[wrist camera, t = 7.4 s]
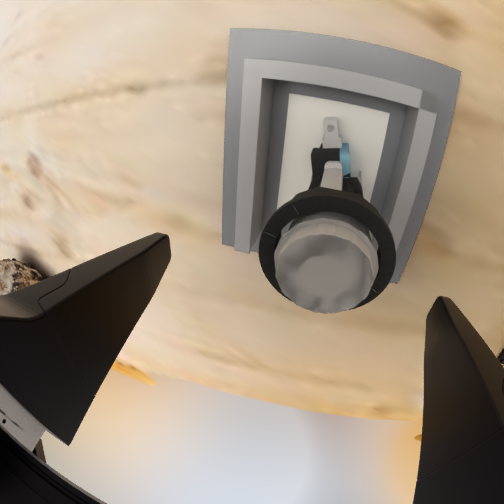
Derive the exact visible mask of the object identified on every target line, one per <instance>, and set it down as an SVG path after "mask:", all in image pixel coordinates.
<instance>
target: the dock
mask: <svg viewBox="0 0 504 504" xmlns="http://www.w3.org/2000/svg"><path fill="white" fill-rule="evenodd" d="M460 74H461V71H459V70H456V69H454V68H451V67H449V66H446V65H443V64H440V63H437V62H435V61H432V60H429V59H426V58H422V57H419V56H416V55H413V54H409V53H406V52H402V51H399V50H395V49H391V48H388V47H384V46H379V45H375V44H371V43H366V42H361V41H357V40H351V39H346V38H340V37H334V36H328V35H321V34H314V33H305V32H296V31H285V30H271V29H247V28H230V35H229V51H228V69H227V89H226V112H225V138H224V171H223V218H222V244H223V245H228V246H232V247H235V250H236V251H240V252H245V253H250V251H254V252H259V241H260V237H261V234H262V231H263V229H264V227H265V225H266V223H267V222H268V220H269V218H270V217H271V216H272V214H273V213H274V212H275V211H276V210H277V209H278V208H280V207H281V206H282V205H283V204H285V203H286V202H288V201H290V200H292V199H293V197H294V196H295V195H296V194H298V193H301V192H304V191H307V190H308V189H309V186H310V183H311V176H312V165H311V152H312V150H313V148H320V145H321V143H322V138H323V135H324V128H323V120H324V118H325V117H337V118H338V128H339V134H342V143H349V152H350V172H351V177H358V178H360V171H361V176H362V189H363V198H365V199H366V200H367V201H368V202H369V203H371V204H372V205H373V206H374V207H375V208H376V209H377V210H378V212H379V214H380V216H381V217H382V218H383V219H384V220H385V222H386V223H387V225H388V227H389V228H390V231H391V233H392V235H393V239H394V243H395V249H396V266H395V270H394V273H393V276H392V278H391V280H390V282H391V283H396V284H397V283H398V281H399V279H400V277H401V274H402V272H403V270H404V267H405V265H406V262H407V260H408V258H409V255H410V253H411V250H412V248H413V245H414V243H415V240H416V237H417V235H418V232H419V229H420V227H421V224H422V221H423V218H424V216H425V213H426V210H427V207H428V204H429V201H430V198H431V195H432V192H433V189H434V185H435V182H436V179H437V176H438V172H439V169H440V165H441V162H442V158H443V154H444V151H445V147H446V143H447V139H448V135H449V131H450V126H451V122H452V117H453V113H454V108H455V103H456V98H457V92H458V87H459V81H460ZM328 127H329V128H334V126H333V125H328ZM291 222H292V221H291ZM291 222H289V223H288V224H287V225H286V226H285V227H284V228H283V229H282V231H281V237H282V236H283V235H284V234H285V233H287V232H288V230H289V227H290V225H291ZM371 235H372V245H373V246H374V248H375V249H376V252H377V249H378V243H377V241H376V239H375V237H374V236H373V234H372V233H371Z"/></svg>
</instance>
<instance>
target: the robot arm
mask: <svg viewBox="0 0 504 504" xmlns="http://www.w3.org/2000/svg"><path fill="white" fill-rule="evenodd" d="M170 259H171V249H170V240H169V236H168V235H167V234H163V233H154V234H152V235H149V236H147V237H144V238H142V239H139V240H137V241H134V242H132V243H129V244H127V245H124V246H122V247H120V248H117V249H115V250H112V251H110V252H108V253H105V254H103V255H101V256H98V257H96V258H94V259H91V260H89V261H87V262H84V263H82V264H80V265H77V266H75V267H73V268H72V269H68V270H66V271H64V272H62V273H59V274H57V275H55V276H52V277H50V278H47V279H45V280H42V281H40V282H37V283H35V284H32V285H29V286H27V287H24V288H21V289H19V290H16V291H14V292H11V293H8V294H5V295H0V504H107V503H105V502H103V501H101V500H100V499H98V498H96V497H95V496H93V495H91V494H90V493H88V492H86V491H85V490H83V489H82V488H80V487H79V486H77V485H76V484H74V483H73V482H71V481H70V480H68V479H67V478H65V477H64V476H62V475H61V474H60V473H58V472H57V471H55V470H54V469H53V468H51V467H50V466H49V465H47V464H46V460H45V455H44V451H43V445H42V440H41V439H40V438H41V436H42V435H43V433H44V432H45V430H47V431H48V432H49V433H51V434H52V435H53V436H55V437H56V438H58V439H59V440H60V441H62V442H63V443H65V444H66V445H68V446H69V445H70V443H71V442H72V440H73V438H74V436H75V433H76V432H77V430H78V428H79V426H80V424H81V422H82V420H83V418H84V416H85V414H86V412H87V411H88V409H89V407H90V405H91V403H92V401H93V399H94V398H95V395H96V393H97V391H98V390H99V388H100V386H101V384H102V382H103V381H104V379H105V377H106V375H107V373H108V372H109V370H110V368H111V366H112V365H113V363H114V361H115V359H116V358H117V356H118V354H119V352H120V351H121V349H122V347H123V345H124V344H125V342H126V340H127V339H128V337H129V335H130V334H131V332H132V330H133V328H134V327H135V325H136V323H137V322H138V320H139V318H140V317H141V315H142V313H143V312H144V310H145V309H146V307H147V305H148V304H149V302H150V300H151V299H152V297H153V295H154V293H155V291H156V289H157V287H158V285H159V283H160V281H161V279H162V276H163V274H164V272H165V270H166V268H167V266H168V264H169V262H170ZM500 363H501V364H504V351H503V352H502V353H501V354H500V355H499V357H498V358H496V357H495V355H494V354H493V352H492V351H491V350H490V348H489V347H488V346H487V344H486V343H485V341H484V340H483V339H482V337H481V336H480V335H479V334H478V332H477V331H476V330H475V328H474V327H473V326H472V325H471V323H470V322H469V321H468V319H467V318H466V317H465V316H464V314H463V313H462V312H461V311H460V310H459V308H458V307H457V306H456V305H455V303H454V302H453V301H452V300H451V299H450V298H448V297H444V296H439V297H438V298H437V299H436V300H435V302H434V304H433V306H432V308H431V309H430V311H429V313H428V315H427V319H426V336H425V351H424V407H423V427H422V440H421V451H420V461H419V469H418V476H417V482H416V488H415V494H414V500H413V504H504V368H503V366H502V365H501V364H500Z"/></svg>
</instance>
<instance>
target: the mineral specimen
mask: <svg viewBox="0 0 504 504" xmlns="http://www.w3.org/2000/svg"><path fill="white" fill-rule="evenodd" d="M42 280H44V279H43V278H42V275H41V274H40V273H38V272H37V271H36V270H34V269H31V267H30V265H29V263H28V262H24V261H22V262H19V261H17V260H16V259H14V258H13V259H12V260H10V259H9V258H8V259H3V260H2V261H0V295H5V294H8V293H11V292H14V291H16V290H19V289H21V288H24V287H27V286H29V285H32V284H35V283H37V282H40V281H42Z"/></svg>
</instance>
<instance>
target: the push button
mask: <svg viewBox="0 0 504 504" xmlns="http://www.w3.org/2000/svg"><path fill="white" fill-rule="evenodd" d="M328 125H333V126H334V128H329V127H328ZM323 128H324V135H323V138H322V143H321V145H320V148H313V150H312V152H311V165H312V176H311V183H310V186H309V189H308V190H307V191H304V192H301V193H298V194H296V195H295V196H294V197H293V199H292V200H290V201H288V202H286V203H285V204H283V205H282V206H281V207H280V208H278V209H277V210H276V211H275V212H274V213H273V214H272V216H271V217H270V218H269V220H268V222H267V223H266V225H265V227H264V229H263V231H262V234H261V237H260V241H259V260H260V264H261V267H262V269H263V272H264V274H265V276H266V278H267V279H268V281H269V282H270V283H271V284H272V286H273V287H274V288H275V289H276V290H277V291H278V292H279V293H280V294H282V295H283V296H284V297H286V298H287V299H289V300H290V301H292V302H294V303H295V304H296V305H298V306H300V307H302V308H304V309H308V310H310V311H313V312H319V313H325V314H326V313H338V312H341V311H346V310H351V309H354V308H357V307H360V306H362V305H364V304H366V303H368V302H370V301H372V300H373V299H374V298H376V297H377V296H378V295H379V294H380V293H381V292H382V291H383V290H384V289H385V288H386V286H387V285H388V283H389V282H390V280H391V278H392V276H393V273H394V270H395V266H396V249H395V243H394V239H393V235H392V233H391V231H390V228H389V227H388V225H387V223H386V222H385V220H384V219H383V218H382V217H381V216H380V214H379V212H378V210H377V209H376V208H375V207H374V206H373V205H372V204H371V203H369V202H368V201H367V200H366V199H365V198H363V189H362V176H361V171H360V178H358V177H351V172H350V152H349V143H342V134H339V128H338V118H337V117H325V118H324V120H323ZM291 221H292V222H291ZM289 222H291V225H290V227H289V230H288V232H287V233H285V234H284V235H283V236H282V237H281V231H282V229H283V228H284V227H285V226H286V225H287V224H288V223H289ZM371 233H372V234H373V236H374V237H375V239H376V241H377V243H378V249H377V252H376V249H375V248H374V246H373V245H372V235H371Z"/></svg>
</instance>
